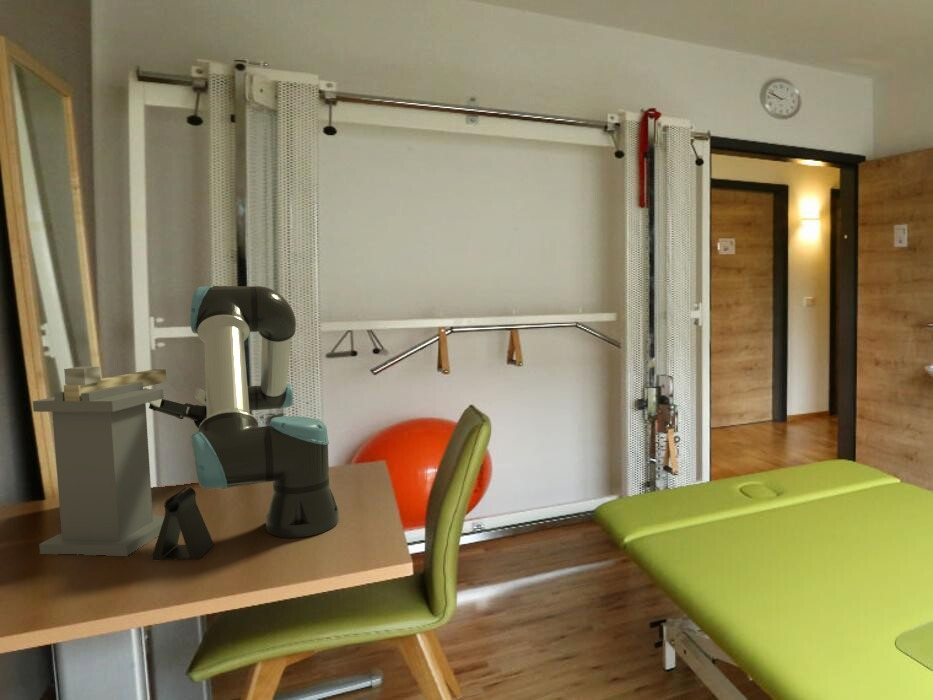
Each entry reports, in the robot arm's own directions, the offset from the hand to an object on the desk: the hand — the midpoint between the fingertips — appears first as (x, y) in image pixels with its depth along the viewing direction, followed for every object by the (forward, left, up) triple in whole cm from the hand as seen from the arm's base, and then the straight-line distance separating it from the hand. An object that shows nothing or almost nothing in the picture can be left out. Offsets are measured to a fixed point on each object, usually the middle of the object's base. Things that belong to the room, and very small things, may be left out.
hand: (170, 392), depth 133 cm
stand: (-11, +19, -27) cm, 35 cm away
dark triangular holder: (-30, +14, -27) cm, 43 cm away
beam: (-8, +14, +3) cm, 17 cm away
